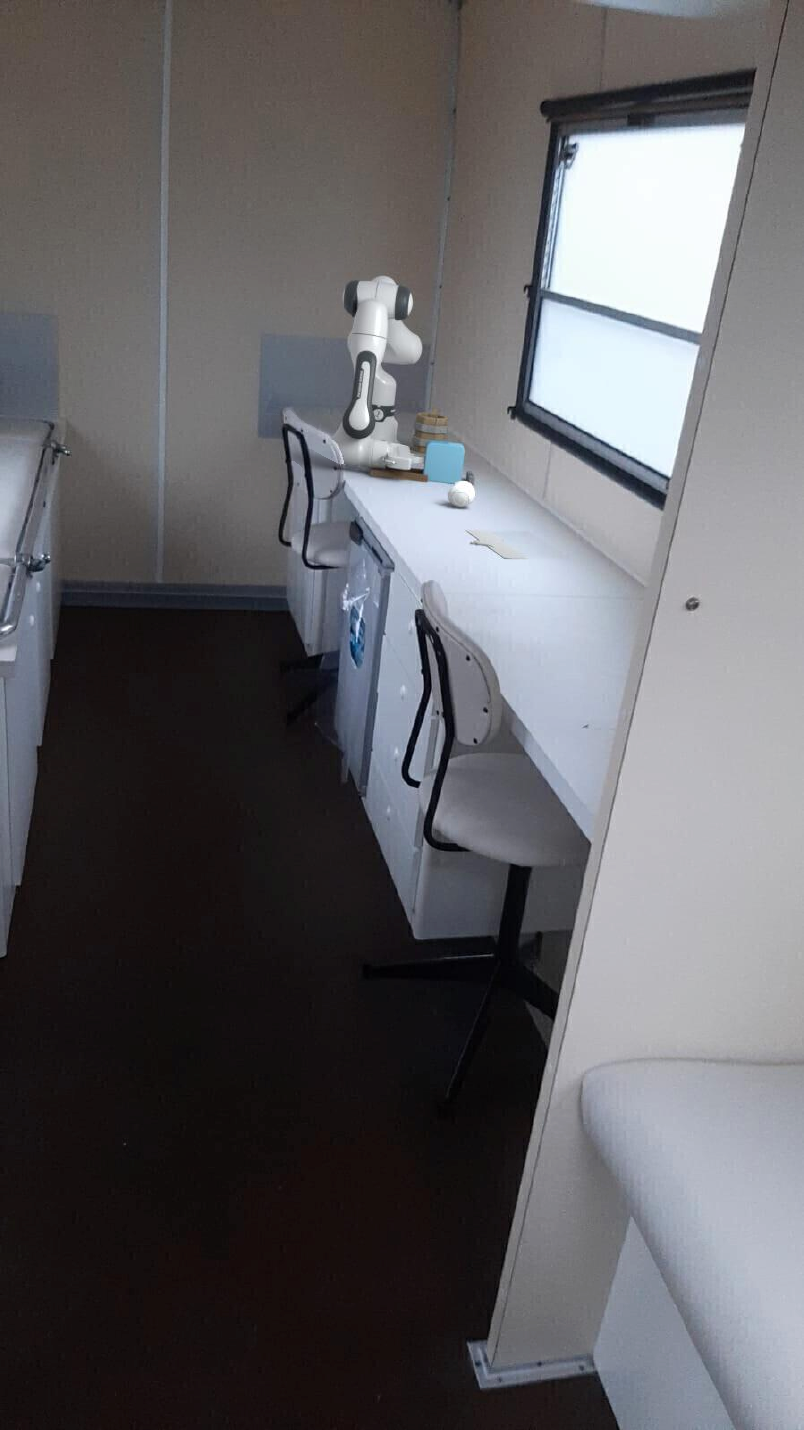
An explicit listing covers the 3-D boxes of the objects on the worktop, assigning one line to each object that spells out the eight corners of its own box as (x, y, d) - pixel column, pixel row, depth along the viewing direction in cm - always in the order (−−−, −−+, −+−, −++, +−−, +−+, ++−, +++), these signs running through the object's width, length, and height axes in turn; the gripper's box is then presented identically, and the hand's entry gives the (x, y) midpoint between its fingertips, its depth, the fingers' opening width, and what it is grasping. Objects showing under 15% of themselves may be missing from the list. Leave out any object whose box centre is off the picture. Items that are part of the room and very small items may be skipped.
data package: (459, 481, 361) (464, 443, 356) (460, 484, 357) (465, 446, 352) (422, 477, 361) (427, 439, 356) (422, 480, 357) (427, 442, 352)
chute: (370, 469, 362) (370, 459, 361) (470, 480, 365) (471, 471, 364) (370, 476, 353) (371, 466, 352) (473, 487, 356) (474, 478, 355)
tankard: (442, 462, 385) (448, 418, 379) (406, 457, 386) (411, 412, 380) (449, 452, 403) (455, 409, 397) (415, 446, 405) (420, 404, 398)
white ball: (454, 502, 336) (458, 476, 332) (477, 507, 332) (481, 481, 329) (441, 506, 329) (445, 479, 326) (464, 512, 326) (468, 485, 323)
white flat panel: (451, 531, 306) (452, 527, 306) (528, 534, 315) (529, 530, 315) (490, 560, 285) (490, 555, 285) (571, 562, 294) (571, 558, 294)
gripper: (382, 451, 345) (427, 456, 346) (381, 438, 363) (424, 443, 364) (380, 472, 347) (425, 477, 348) (379, 458, 366) (421, 462, 367)
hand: (424, 459), depth 357 cm, fingers closed
